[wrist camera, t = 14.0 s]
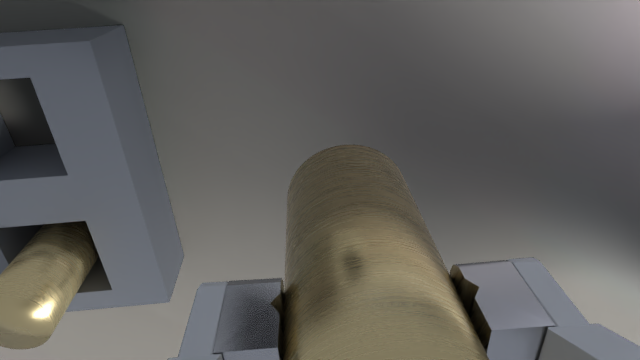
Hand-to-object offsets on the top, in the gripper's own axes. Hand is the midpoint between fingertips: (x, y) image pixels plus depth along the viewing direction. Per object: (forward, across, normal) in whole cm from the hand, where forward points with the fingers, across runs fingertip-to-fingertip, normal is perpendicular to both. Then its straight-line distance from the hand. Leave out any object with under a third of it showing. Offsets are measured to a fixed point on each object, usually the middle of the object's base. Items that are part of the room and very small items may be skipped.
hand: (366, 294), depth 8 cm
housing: (+15, +14, +4) cm, 21 cm away
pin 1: (+15, +14, +7) cm, 22 cm away
